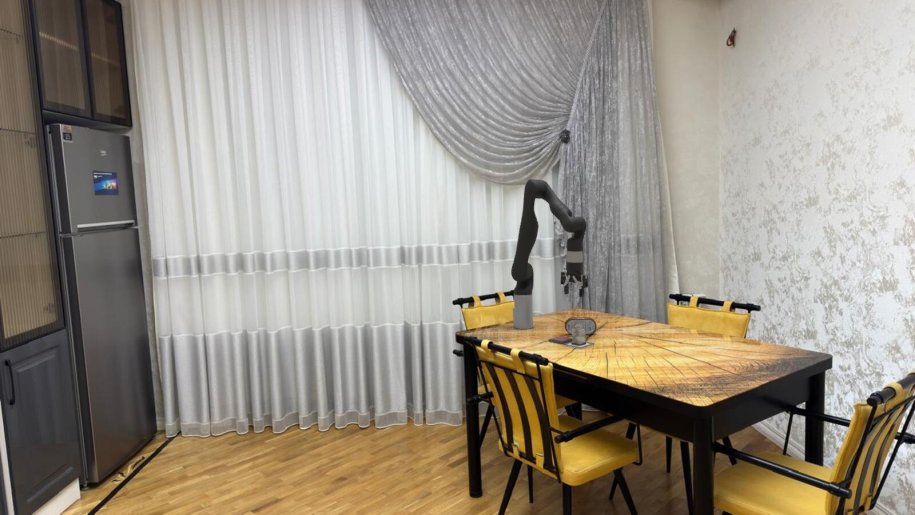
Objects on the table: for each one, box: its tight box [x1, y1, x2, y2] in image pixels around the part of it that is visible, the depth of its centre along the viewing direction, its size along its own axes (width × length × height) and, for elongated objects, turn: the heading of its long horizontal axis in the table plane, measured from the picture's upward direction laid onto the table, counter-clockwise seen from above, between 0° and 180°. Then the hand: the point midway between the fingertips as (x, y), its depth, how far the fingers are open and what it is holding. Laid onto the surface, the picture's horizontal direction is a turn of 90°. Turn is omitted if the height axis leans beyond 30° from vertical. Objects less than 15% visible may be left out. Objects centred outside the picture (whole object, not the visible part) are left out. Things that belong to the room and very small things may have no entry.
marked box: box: [562, 341, 596, 350], centre depth 270 cm, size 10×10×1 cm
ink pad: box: [548, 335, 572, 345], centre depth 278 cm, size 8×8×1 cm
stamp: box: [571, 324, 587, 346], centre depth 270 cm, size 5×5×9 cm
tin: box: [564, 316, 597, 336], centre depth 289 cm, size 15×3×8 cm, turn 84°
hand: (573, 295), depth 279 cm, fingers open, 8 cm apart
